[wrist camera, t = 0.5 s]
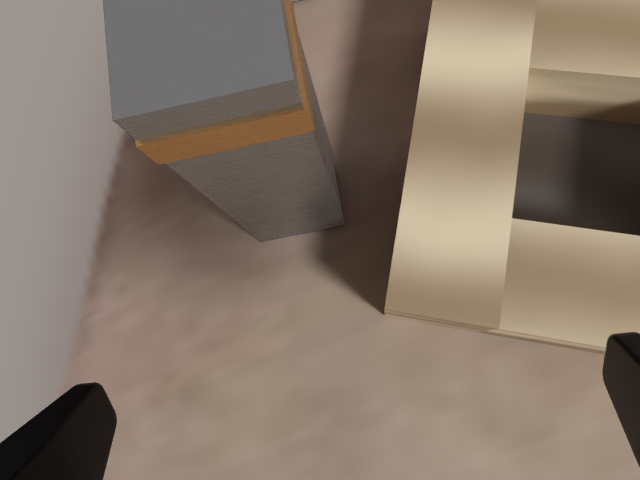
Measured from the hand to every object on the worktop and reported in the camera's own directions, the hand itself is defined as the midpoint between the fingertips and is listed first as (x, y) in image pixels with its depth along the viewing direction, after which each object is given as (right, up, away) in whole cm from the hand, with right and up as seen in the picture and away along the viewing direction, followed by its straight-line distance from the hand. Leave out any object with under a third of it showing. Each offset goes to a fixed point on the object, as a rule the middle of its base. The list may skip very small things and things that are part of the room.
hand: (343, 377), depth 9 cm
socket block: (+11, +5, +13) cm, 17 cm away
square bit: (-2, +5, +15) cm, 16 cm away
